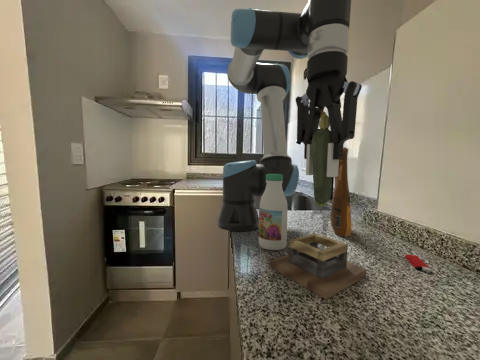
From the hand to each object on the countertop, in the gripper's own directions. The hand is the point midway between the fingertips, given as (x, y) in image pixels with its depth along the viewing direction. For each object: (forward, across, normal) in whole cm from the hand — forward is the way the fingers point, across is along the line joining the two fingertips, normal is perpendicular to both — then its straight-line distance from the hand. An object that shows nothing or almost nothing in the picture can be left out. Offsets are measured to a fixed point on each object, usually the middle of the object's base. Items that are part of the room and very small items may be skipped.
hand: (321, 175), depth 46 cm
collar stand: (+21, 0, 0) cm, 21 cm away
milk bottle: (+21, -16, +2) cm, 26 cm away
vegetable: (+7, 0, 0) cm, 7 cm away
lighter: (+21, +11, +23) cm, 33 cm away
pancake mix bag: (+21, -14, +31) cm, 40 cm away
